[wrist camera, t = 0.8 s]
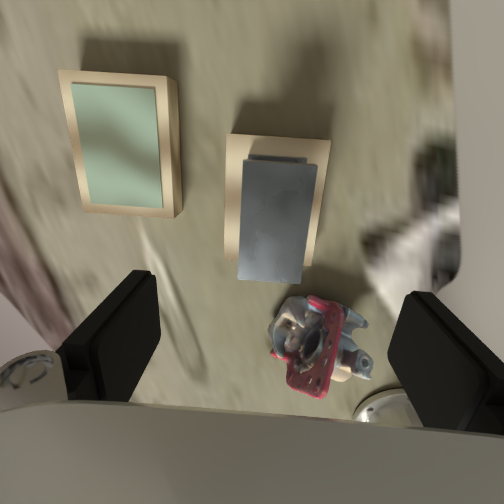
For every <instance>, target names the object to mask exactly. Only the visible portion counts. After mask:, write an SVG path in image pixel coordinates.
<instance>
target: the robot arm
mask: <svg viewBox="0 0 504 504" xmlns="http://www.w3.org/2000/svg"><path fill="white" fill-rule="evenodd" d="M160 337H161V328H160V317H159V306H158V294H157V283H156V277H155V275H152V274H151V272H150V271H144V270H133V271H132V272H131V273H130V274H129V275H128V276H127V277H126V278H125V279H124V280H123V281H122V282H121V283H120V284H119V285H118V286H117V287H116V288H115V289H114V290H113V291H112V292H111V293H110V294H109V295H108V296H107V297H106V299H105V300H104V301H103V302H102V303H101V304H100V305H99V306H98V307H97V308H96V309H95V310H94V311H93V312H92V313H91V314H90V315H89V316H88V317H87V318H86V319H85V320H84V321H83V322H82V323H81V324H80V325H79V326H78V327H77V328H76V329H75V330H74V331H73V332H72V333H71V335H70V336H69V337H68V338H67V339H66V340H65V341H64V342H63V343H62V345H61V346H60V347H59V348H58V349H57V351H56V352H54V351H48V350H41V351H33V352H30V353H26V354H24V355H21V356H18V357H16V358H14V359H12V360H11V361H9V362H7V363H6V364H4V365H3V366H2V367H1V368H0V504H504V363H503V362H502V361H501V360H500V359H499V358H498V357H497V356H496V355H495V354H494V353H493V352H492V351H491V350H490V349H489V348H488V347H487V346H486V345H485V344H484V343H482V341H481V340H480V339H479V338H478V337H477V336H476V335H475V334H474V333H473V332H471V331H470V330H469V329H468V328H467V327H466V326H465V325H464V324H463V323H462V322H461V321H460V320H459V319H458V318H457V317H456V316H455V315H454V314H453V313H452V312H451V311H450V310H449V309H448V308H447V307H446V306H445V305H444V304H443V303H441V301H440V300H439V299H438V298H437V297H436V296H435V295H434V294H433V293H431V292H422V291H412V292H411V293H410V294H408V295H406V297H405V299H404V302H403V305H402V308H401V311H400V314H399V317H398V321H397V324H396V327H395V330H394V333H393V336H392V339H391V342H390V345H389V348H388V353H387V355H388V360H389V362H390V364H391V366H392V368H393V370H394V372H395V374H396V375H397V377H398V379H399V381H400V383H401V385H402V387H403V389H392V390H387V391H383V392H380V393H377V394H375V395H373V396H371V397H370V398H368V399H366V400H365V401H364V402H363V403H362V404H361V405H360V406H359V407H358V408H357V410H356V411H355V413H354V416H353V421H352V420H341V419H329V418H318V417H307V416H295V415H283V414H272V413H260V412H248V411H236V410H224V409H211V408H199V407H187V406H174V405H162V404H147V403H133V402H128V401H129V399H130V398H131V396H132V394H133V392H134V390H135V388H136V386H137V384H138V382H139V380H140V378H141V376H142V374H143V372H144V370H145V368H146V366H147V365H148V363H149V361H150V359H151V357H152V355H153V353H154V351H155V349H156V347H157V345H158V343H159V341H160Z"/></svg>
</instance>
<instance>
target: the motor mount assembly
mask: <svg viewBox="0 0 504 504" xmlns="http://www.w3.org/2000/svg"><path fill="white" fill-rule="evenodd" d="M367 327H368V322H367V321H366V320H365V319H364V318H363V317H362V316H361V315H360V314H358V313H356V312H354V311H353V310H351V309H350V308H348V307H345V306H343V305H341V304H340V303H338V302H335V301H326V300H322V299H320V298H318V297H316V296H314V295H308V297H307V298H305V297H303V296H292V297H289V298H287V299H286V301H285V302H284V303H283V305H282V307H281V309H280V311H279V313H278V315H277V316H276V318H275V319H274V320H273V321H272V322H271V324H270V326H269V328H268V333H269V337H270V340H271V342H272V345H273V349H272V350H271V352H270V354H271V355H272V356H274V357H276V358H279V359H282V360H284V361H286V363H287V375H286V381H287V384H288V386H290V387H291V388H292V389H293V390H296V391H299V392H301V393H305V394H307V395H309V396H311V397H313V398H317V399H322V398H324V397H325V396H326V394H327V392H328V390H329V385H330V379H333V380H335V381H339V382H341V381H346V380H348V379H349V378H350V377H351V376H352V375H355V376H357V377H360V378H363V379H366V380H371V379H372V378H371V377H370V375H369V374H370V372H371V371H372V369H373V363H374V362H373V360H372V358H371V357H370V356H369V355H368V354H367V353H366V352H365V351H363V350H361V349H358V347H357V345H356V344H355V343H354V341H353V340H352V338H351V333H352V330H353V329H355V328H367ZM300 372H302V373H301V374H300ZM311 378H312V381H311V383H310V385H309V382H310V379H311Z"/></svg>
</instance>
